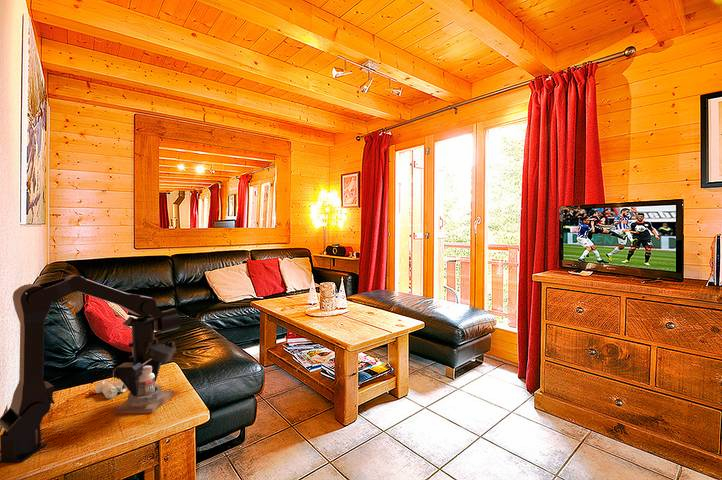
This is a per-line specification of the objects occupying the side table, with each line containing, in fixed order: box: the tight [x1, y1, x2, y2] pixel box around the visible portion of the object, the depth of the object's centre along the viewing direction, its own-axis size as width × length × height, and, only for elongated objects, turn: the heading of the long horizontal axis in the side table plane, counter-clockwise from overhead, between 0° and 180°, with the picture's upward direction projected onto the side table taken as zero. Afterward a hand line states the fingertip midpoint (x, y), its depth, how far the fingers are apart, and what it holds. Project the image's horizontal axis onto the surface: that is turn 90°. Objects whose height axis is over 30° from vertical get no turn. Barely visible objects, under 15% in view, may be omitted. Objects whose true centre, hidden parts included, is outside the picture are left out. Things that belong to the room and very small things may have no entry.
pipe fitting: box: [95, 380, 128, 399], centre depth 110 cm, size 8×4×7 cm
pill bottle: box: [135, 365, 156, 397], centre depth 104 cm, size 5×5×10 cm
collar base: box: [113, 384, 174, 414], centre depth 104 cm, size 11×11×4 cm
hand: (144, 388), depth 104 cm, fingers open, 9 cm apart
